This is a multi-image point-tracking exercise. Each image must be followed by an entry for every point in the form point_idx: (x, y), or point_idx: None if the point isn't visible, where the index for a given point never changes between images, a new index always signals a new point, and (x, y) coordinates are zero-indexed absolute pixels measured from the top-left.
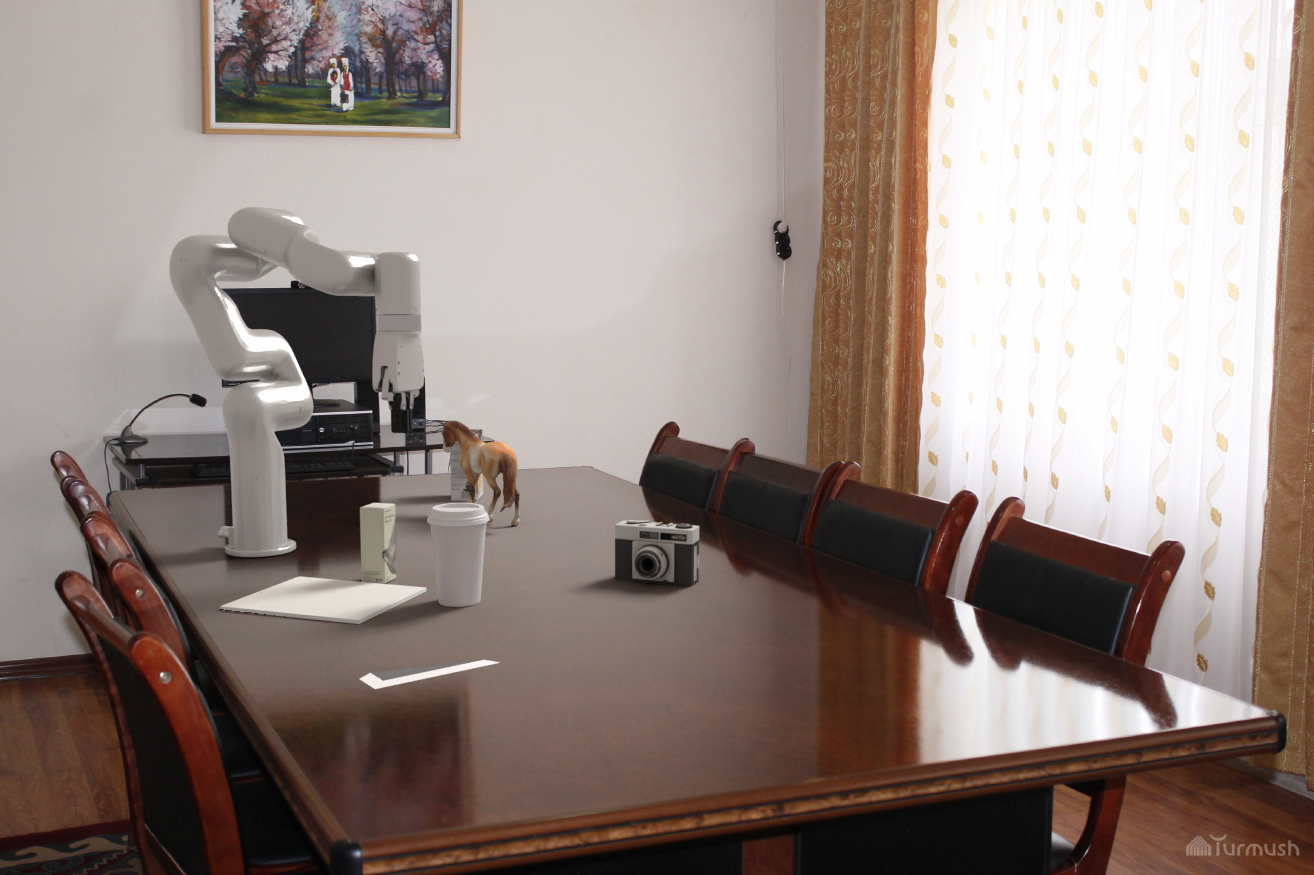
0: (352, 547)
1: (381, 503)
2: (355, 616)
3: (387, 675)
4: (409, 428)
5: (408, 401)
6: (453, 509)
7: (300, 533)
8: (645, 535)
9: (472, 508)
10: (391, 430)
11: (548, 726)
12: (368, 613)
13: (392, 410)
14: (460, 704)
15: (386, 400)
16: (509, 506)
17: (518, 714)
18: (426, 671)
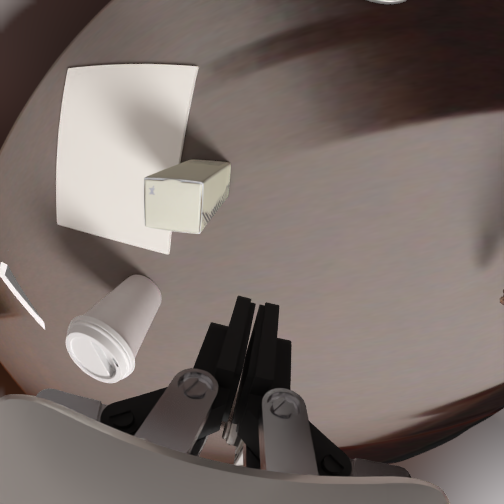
0: (419, 79)
1: (192, 205)
2: (63, 216)
3: (9, 275)
4: (243, 365)
5: (246, 460)
6: (87, 353)
7: (478, 7)
8: (242, 448)
9: (103, 371)
10: (237, 298)
11: (12, 344)
12: (72, 225)
13: (215, 372)
14: (6, 313)
15: (77, 401)
16: (501, 303)
17: (12, 335)
18: (20, 294)
